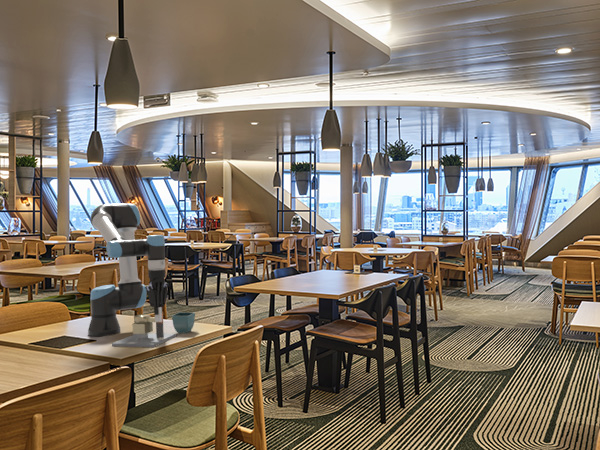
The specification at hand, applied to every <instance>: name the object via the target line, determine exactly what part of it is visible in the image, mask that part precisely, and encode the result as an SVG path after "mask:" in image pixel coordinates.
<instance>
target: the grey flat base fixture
mask: <svg viewBox="0 0 600 450" xmlns="http://www.w3.org/2000/svg"><path fill="white" fill-rule="evenodd" d="M176 336H177V333H165V332H164V322H163V323H162V324H158V322H155V332H149V333H146V334H132V335H129V336H127V337H124V338H122V339H120V340H117V341H115V342H112V345H111V346H112V347H125V348H126V347H129V348H133V347H134V348H155V347H156V345H157V346H159V345H161V344H163V343H165V342H167V341H169V340H171V339H174V338H175V337H176ZM154 346H155V347H154Z"/></svg>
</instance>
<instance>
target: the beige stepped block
mask: <svg viewBox="0 0 600 450" xmlns="http://www.w3.org/2000/svg"><path fill="white" fill-rule="evenodd" d="M133 320H134V321H133V323H132V325H131V326H132V335H134V334H146V333H153V330H154V327H153V326H154V325H153V323H156V322H155V316H153V317H151V314H138V315H134V316H133ZM162 323H163V324H164V313H163V312H162V322H158V324H162Z"/></svg>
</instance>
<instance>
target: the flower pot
mask: <svg viewBox="0 0 600 450" xmlns="http://www.w3.org/2000/svg"><path fill="white" fill-rule="evenodd" d="M195 317H196V313H195V312H184V311H183V312H182V311H181V312H177V313H175V314H172V315H171V319H172V325H173V326H172V327H173V328H174V330H175V332H176V334H177V333H178V334H188V333H189V332H191V331H192V329H193V327H194V325H195V321H196V320H195Z"/></svg>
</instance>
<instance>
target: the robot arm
mask: <svg viewBox="0 0 600 450" xmlns="http://www.w3.org/2000/svg"><path fill="white" fill-rule="evenodd" d="M90 223H91V225H92V227H93V228H94V229H95V230H97V231H99V234H100V235H101V236H102V238H103V239H104V241H105V242H106V246H105V247H106V249H105V250H106V254H107V257H108V258H111V259H114V258H116V259H117V258H118V262H119V274H120V276H119V277H120V280H119V281H118V283H117V286H115V284H106V285H100V286H97V287H95V288H92V289H91V291H90V298H89V300H90V313H91V315H90V323H89V326H88V328H87V335H88V336H90V337H107V336H113V335H117V334H119V333H120V332H121V325H120V323H119V321H118V317H117V311H123V310H124V311H125V310H132V309H133V310H134V309H137V308H142V307H144V305H145V304H146V301H147V297H148V301H149V307H152V308H153V315H154V317H155V322H154V323H156V322H162V313H163V307H165V305H166V303H167V295H168V290H169V289H168V288H169V286H170V283H167V282H166V280H165V278H166V276H167V275H166V274H167V273H166V269H165V268H166V249H165V248H166V241H165V236H164V235H163V234H153V235H151V234H150V235H148V236H147V238H142V239H135V236H136V235H135V232H136V231H137V229H138V226H140V223H141V214H140V210H139V207H138V206H137V205H136V204H134V203H127V202H126V203H102V204H101V205H98V206H97V207H95V208H94V210H93V211H92V213H91V215H90ZM142 256H143V257H144V256H146V257H147V269H148V271H147V274H148V275H147V276H148V279H149V282H148V283H149V284H148V285H145V284H143V283H142V280H141V279H140V278H139V274H138V262H137V257H142Z"/></svg>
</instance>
